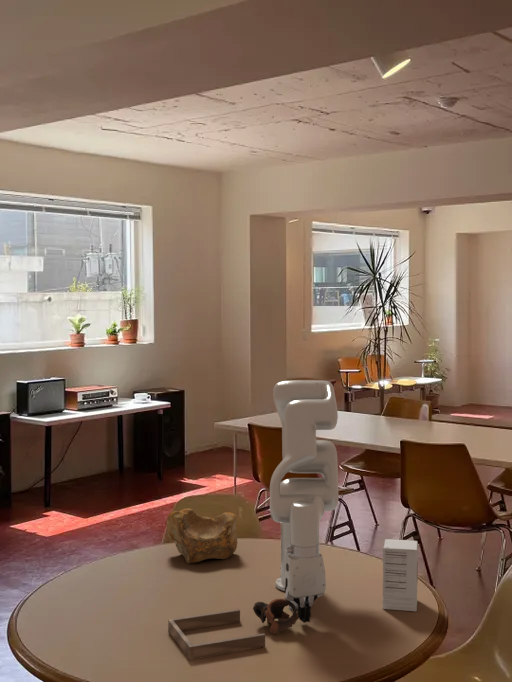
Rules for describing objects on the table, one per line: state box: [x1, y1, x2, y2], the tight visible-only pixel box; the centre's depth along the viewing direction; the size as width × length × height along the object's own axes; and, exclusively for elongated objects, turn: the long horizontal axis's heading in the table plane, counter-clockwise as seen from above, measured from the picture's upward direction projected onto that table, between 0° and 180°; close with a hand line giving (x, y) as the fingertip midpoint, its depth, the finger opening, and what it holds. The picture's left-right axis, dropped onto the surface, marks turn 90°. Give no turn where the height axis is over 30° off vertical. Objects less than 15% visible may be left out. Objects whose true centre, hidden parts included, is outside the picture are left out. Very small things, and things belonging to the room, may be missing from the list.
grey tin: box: [288, 597, 305, 613], centre depth 228 cm, size 5×5×5 cm
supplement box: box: [382, 538, 419, 612], centre depth 230 cm, size 10×9×17 cm
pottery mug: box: [252, 598, 300, 635], centre depth 214 cm, size 12×10×8 cm
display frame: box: [167, 608, 266, 661], centre depth 207 cm, size 18×19×3 cm
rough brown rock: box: [166, 507, 238, 565], centre depth 270 cm, size 23×17×15 cm
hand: (304, 620), depth 216 cm, fingers closed
